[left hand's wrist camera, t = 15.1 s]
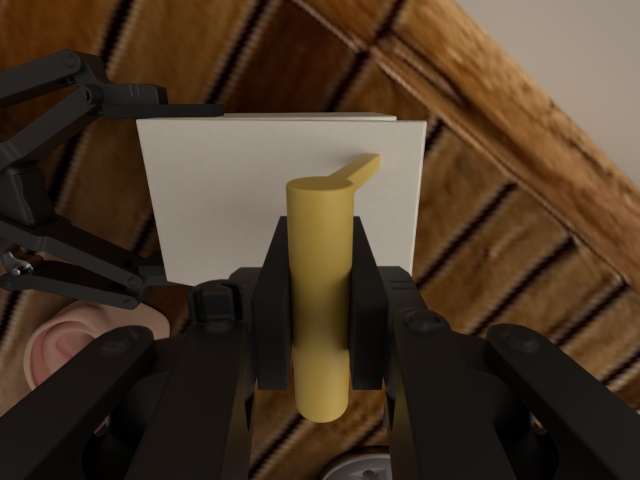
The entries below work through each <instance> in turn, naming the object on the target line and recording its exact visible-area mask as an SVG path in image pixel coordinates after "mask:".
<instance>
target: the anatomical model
mask: <svg viewBox="0 0 640 480" xmlns="http://www.w3.org/2000/svg"><path fill="white" fill-rule="evenodd" d="M127 325H141V326H145V327H148V328H149V329H150V330H151V331H152V332H153V335H154V340H158V339H163V338H168V337H169V334H170V326H169V322H168V320H167V318H166V317H165V316H164V315H163V314H161V313H160V312H159V311H157V310H155V309H153V308H152V307H149V306H147V305H145V304H143V303H140V304H139V305H138V306H137V308H135V309H134V310H127V309H122V308H117V307H113V306H108V305H104V304H99V303H94V302H90V301H85V300H78V301H76V302H74V303H72V304H70V305H68V306H66V307H65V308H63V309H62V310H61V311H59V312H58V313H57V314H56V315H55V316H54V317H53V318H52V319H50V320H48V321H46V322H45V323H43V324H42V325H40V326H39V327H38V328H37V329H36V330H35V331H34V332H33V333H32V334H31V336H30V338H29V339H28V341H27V344H26V347H25V351H24V357H23V366H24V372H25V376H26V379H27V382H28V384H29V386H30V388H31V390H32V391H33V390H34V389H35V388H36V387H37V386H39V385H40V384H41V383H42V382H43V381H45V380H46V379H47V378H48V377H49V376H51V375H52V374H53V373H54V372H55V371H57V370H58V369H59V368H60V367H61V366H63V365H64V364H65V363H66V362H67V361H69V360H70V359H71V358H72V357H73V356H75V355H76V354H77V353H78V352H79V351H81V350H82V349H83V348H84V347H85V346H87V345H88V344H89V343H90V342H91V341H93V340H94V339H96V338H97V337H99V336H100V335H102V334H103V333H105V332H108V331H110V330H113V329H114V328H118V327H123V326H127Z"/></svg>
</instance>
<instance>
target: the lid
mask: <svg viewBox="0 0 640 480" xmlns="http://www.w3.org/2000/svg"><path fill="white" fill-rule="evenodd" d="M136 123H137V128H138V134H139V139H140V144H141V149H142V154H143V159H144V164H145V169H146V175H147V180H148V185H149V190H150V195H151V200H152V205H153V210H154V216H155V221H156V226H157V231H158V236H159V241H160V246H161V251H162V256H163V262H164V267H165V272H166V277H167V281H170V282H175V283H180V284H186V285H191V286H196V285H198V284H200V283H203V282H206V281H210V280H217V279H228V278H229V276H230V274H232V273H233V272H234V271H236V270H237V269H239V268H240V267H262V266H263V263H264V261H265V258H266V255H267V252H268V249H269V246H270V244H271V241H272V238H273V235H274V232H275V229H276V227H277V224H278V221H279V218H280V216H287V228H288V249H289V271H290V293H291V314H292V336H293V357H294V379H295V401H296V407H297V409H298V411H299V412H300V413H301V415H303V416H304V417H305V418H307V419H309V420H311V421H314V422H329V421H333V420H335V419H337V418H338V417H340V416H341V415H342V414H343V413H344V411H345V410H346V408H347V405H348V386H349V352H348V341H349V312H350V283H351V267H352V245H353V216H360V219H361V222H362V225H363V227H364V230H365V233H366V236H367V239H368V242H369V244H370V247H371V250H372V253H373V256H374V259H375V261H376V264H377V266H400V267H401V268H403V269H404V270H406V271H407V272H408V273H409V274H410V276H411V275H412V265H413V255H414V245H415V235H416V225H417V215H418V205H419V195H420V185H421V175H422V165H423V156H424V146H425V136H426V126H427V122H426V121H382V120H243V119H137V120H136Z"/></svg>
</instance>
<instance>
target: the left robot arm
mask: <svg viewBox="0 0 640 480" xmlns="http://www.w3.org/2000/svg"><path fill="white" fill-rule="evenodd" d="M186 296H187V302H188V308H189V314H190V320H191V326H190V328H189V330H188V332H187V333H184V334H181V335H177V336H173V337H168V338H163V339H158V340H154V335H153V332H152V331H151V330H150V329H149V328H148V327H145V326H141V325H127V326H123V327H118V328H114V329H113V330H110V331H108V332H105V333H103V334H102V335H100V336H99V337H97V338H96V339H94V340H93V341H91V342H90V343H89V344H88V345H87V346H85V347H84V348H83V349H82V350H81V351H79V352H78V353H77V354H76V355H75V356H73V357H72V358H71V359H70V360H69V361H67V362H66V363H65V364H64V365H63V366H61V367H60V368H59V369H58V370H57V371H55V372H54V373H53V374H52V375H51V376H49V377H48V378H47V379H46V380H45V381H43V382H42V383H41V384H40V385H39V386H37V387H36V388H35V389H34V390H33V391H31V392H30V393H29V394H28V395H27V396H25V397H24V398H23V399H22V400H21V401H19V402H18V403H17V404H16V405H15V406H13V407H12V408H11V409H10V410H9V411H7V412H6V413H5V414H4V415H3V416H1V417H0V480H248V471H249V462H250V452H251V443H252V433H253V424H254V414H255V394H254V387H255V382H256V378H257V382H258V390H287V384H288V375H289V367H290V358H291V349H292V340H293V336H292V314H291V293H290V271H289V249H288V228H287V216H280V218H279V221H278V224H277V227H276V229H275V232H274V235H273V238H272V241H271V244H270V246H269V249H268V252H267V255H266V258H265V261H264V263H263V266H262V267H240V268H239V269H237V270H236V271H234V272H233V273H232V274H230V276H229V278H228V279H217V280H210V281H206V282H203V283H200V284H198V285H196V286H194V287H193V288H191V289H190V290H189V291H188V292H187V293H186ZM348 352H349V360H350V369H351V378H352V386H353V390H382V379H383V377H384V382H385V386H386V394H385V405H384V416H383V427H387V432H388V442H389V448H384V447H374V448H364V449H360V450H356V451H352V452H349V453H347V454H345V455H342V456H341V457H339V458H337V459H335V460H334V461H333V462H331V463H330V464H329V465H328V466H327V467H326V468H325V469H324V470H323V472H322V473H321V475H320V477H319V480H640V415H639V414H638V413H637V412H635V411H634V410H633V409H632V408H631V407H629V406H628V405H627V404H626V403H625V402H623V401H622V400H621V399H620V398H619V397H617V396H616V395H615V394H614V393H612V392H611V391H610V390H609V389H608V388H606V387H605V386H604V385H603V384H602V383H600V382H599V381H598V380H597V379H596V378H594V377H593V376H592V375H591V374H589V373H588V372H587V371H586V370H585V369H583V368H582V367H581V366H580V365H579V364H577V363H576V362H575V361H574V360H573V359H571V358H570V357H569V356H568V355H566V354H565V353H564V352H563V351H562V350H560V349H559V348H558V347H557V346H556V345H554V344H553V343H552V342H551V341H550V340H548V339H547V338H546V337H544V336H543V335H541V334H539V333H538V332H536V331H534V330H531V329H529V328H527V327H525V326H521V325H517V324H501V323H500V324H497V325H493V326H491V327H490V328H489V329H488V330H487V334H486V338H480V337H475V336H470V335H465V334H461V333H457V332H454V331H452V330H451V328H450V325H449V323H448V322H447V321H446V320H445V318H444V317H442V316H441V315H439V314H438V313H436V312H433V311H431V310H428V308H427V306H426V304H425V302H424V300H423V298H422V296H421V294H420V293H419V291H418V290H417V287H416V285H415V283H414V282H413V279H412V277H411V276H410V274H409V273H408V272H407V271H406V270H404V269H403V268H401V267H400V266H377V264H376V261H375V259H374V256H373V253H372V250H371V247H370V244H369V242H368V239H367V236H366V233H365V230H364V227H363V225H362V222H361V219H360V216H353V245H352V267H351V283H350V312H349V341H348ZM535 418H536V419H537V420H538V421H539V422H540V423H541V424H542V426H543V427H544V428H545V429H546V430H547V432H546V433H545V432H544V431H543V430H542V429H541V428H540V427H539V426H538V425H537V424H536V423H535V422H534V421H535ZM104 420H105V422H106V423H105V424H104V425H103V427H102V428H101V429H100V430H99V431H98V432H96V433H95V434H94V433H93V432H94V431H95V430H96V429H97V428H98V427H99V425H100V424H101V423H102V422H103V421H104Z"/></svg>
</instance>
